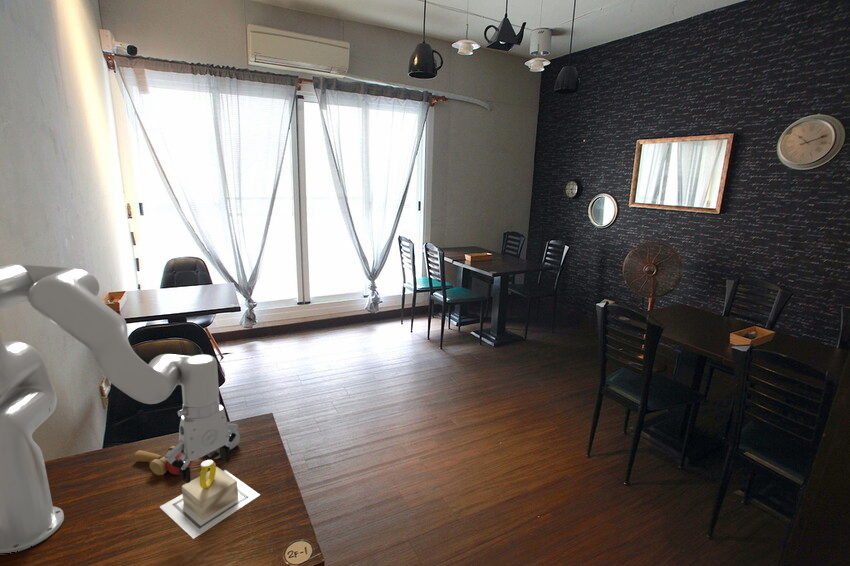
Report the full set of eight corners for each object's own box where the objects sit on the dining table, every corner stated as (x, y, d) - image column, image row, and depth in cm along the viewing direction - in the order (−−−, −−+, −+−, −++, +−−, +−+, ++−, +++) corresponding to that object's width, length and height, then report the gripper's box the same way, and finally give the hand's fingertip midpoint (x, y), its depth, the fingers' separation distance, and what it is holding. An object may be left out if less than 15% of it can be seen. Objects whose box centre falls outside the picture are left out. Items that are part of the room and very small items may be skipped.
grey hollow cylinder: (243, 446, 126) (241, 424, 124) (221, 462, 118) (219, 438, 117) (217, 438, 130) (215, 416, 128) (194, 453, 122) (192, 430, 120)
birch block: (202, 520, 98) (201, 502, 96) (183, 503, 102) (181, 486, 101) (238, 497, 105) (236, 481, 104) (218, 483, 110) (217, 466, 109)
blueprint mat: (193, 540, 92) (193, 538, 92) (159, 508, 101) (159, 506, 101) (260, 496, 106) (260, 494, 106) (225, 471, 115) (225, 469, 115)
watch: (208, 477, 105) (207, 455, 104) (219, 476, 105) (218, 455, 104) (196, 492, 99) (195, 469, 98) (208, 492, 99) (207, 469, 99)
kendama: (124, 474, 114) (175, 481, 109) (123, 451, 114) (173, 457, 109) (150, 462, 122) (199, 468, 116) (149, 441, 121) (198, 445, 116)
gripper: (171, 428, 89) (176, 496, 92) (244, 398, 103) (247, 458, 106) (154, 416, 93) (160, 482, 96) (227, 388, 107) (230, 447, 111)
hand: (206, 469), depth 101 cm, fingers open, 9 cm apart
